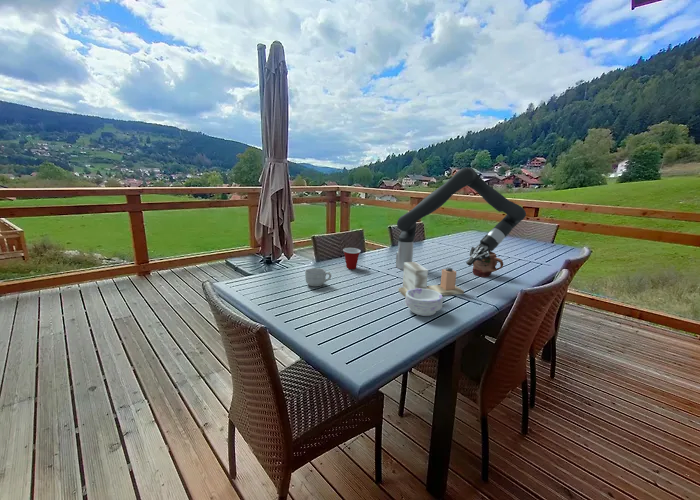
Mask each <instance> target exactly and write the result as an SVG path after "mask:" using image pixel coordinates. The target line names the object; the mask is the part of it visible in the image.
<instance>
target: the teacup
mask: <svg viewBox="0 0 700 500" xmlns="http://www.w3.org/2000/svg"><path fill="white" fill-rule="evenodd" d="M304 273H305V277H304V278H305V283H306V284H308V286H310V287H321V286H322V285H324V284H325V283H326V282H328V281H329V280H330V279H331V278H332V274H331V273H330V272H329V271H326V269H324V268H320V267H319V268H318V267H317V268H308V269H305V270H304ZM327 275H328V278H327Z"/></svg>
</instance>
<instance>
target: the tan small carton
mask: <svg viewBox="0 0 700 500" xmlns="http://www.w3.org/2000/svg"><path fill="white" fill-rule="evenodd" d="M456 279H457V271H455V270H454V269H453V268H452V267H446V268H445V269H442V268H441V277H440V285H441V287H442V288H443V289H445V290H452V289H455V286H456V283H457V282H456V281H457V280H456Z"/></svg>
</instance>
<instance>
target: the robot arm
mask: <svg viewBox="0 0 700 500" xmlns="http://www.w3.org/2000/svg"><path fill="white" fill-rule="evenodd" d="M465 187H469V188H470V189H472V190H474V191H475V192H476V193H478V194H479V195H480V196H481V198H482V199H483V200H484V201H485V202H486V203H487V204H488V205H489V206H491V207H492V208H493V209H494V210H496V211H497V212H499V213H502V212H503V213H504V214H506V215H504V217H503V218H502V219H501V221H499V222H498V223H497V224H496V225H495V226H494V227H493V228H491V230H490V231H488V232H487V233H486V234H485V235H484V236H483V237H482V238H481V240H480V241H479V244H478V245H476V247H474V246H472V247H470V252H469V257H471V258H469V259H467V261H466V262H465V263H466V265H467V266H469V267H471V266H472V265H473V263H474V262H475V261H477V260H478V261H481V260H483V259H485V258H488V257H490V255H489V252H490V251H491V252H493V251H494V250H495V249H496V248H497V247H498V246H499V245H500V244H501V243H502V242H503V241H504V239H505V238H506V237H507V236H508V235H510V233H511V232H512V230H513V229H514V228H515V227H516V226H517V225H519V223H520V222H521V221H523V220H524V219H525V218H526V216H527V213H526V210H525V209H524V208H523V207H522V206H521V205H519V204H517V203H515V202H513V201H511V200H509V199H508V198H506V196H504V195H502V194H501V193H500V192H499V191H498V190H496V189H494V188H493V187H492V186H490V185H489V184H488V183H487V182H486V181H485V180H483V179H482V177H481V176H480V175H479V174H478V172H476V171H475V170H474V169H473V168H472V167H462V168H460V169H459V170H457V171H456V173H454V175H453V176H451V177H450V178H449V179H448V180H447V181H446V182H445V183H443V185H442V184H441V185H440V186H438V188H436V189H435V190H433V191H432V192H431V193H429V194H428V195H427V196H425V198H423V199H422V200H421V201H420V202H418V204H416V205H415V206H414V207H413V208H412V209H411V210H409V211H408V212H406V213H405V214H403V215H401V216H400V217H399V218H398V220H397V222H396V226H397V228H398V229H399V230H400V231H401V232H400V234H399V235H398V241H397V242H398V243H397V252H396V254H395V255H396V256H395V268H397V269H398V270H403V271H404V262H413V255H414V241H415V237H416V231H417V222H418V221H420V220H421V219H423V218H424V217H427V216H428V215H430V214H432V213H434V212H436V211H437V210H438V209H439V208H441V207H442V206H443V205H445V203H447V202H448V201H449V199H450V198H451V197H452V196H454V195H455V194H456V193H457V192H459V191H461V189H463V188H465Z"/></svg>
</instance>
